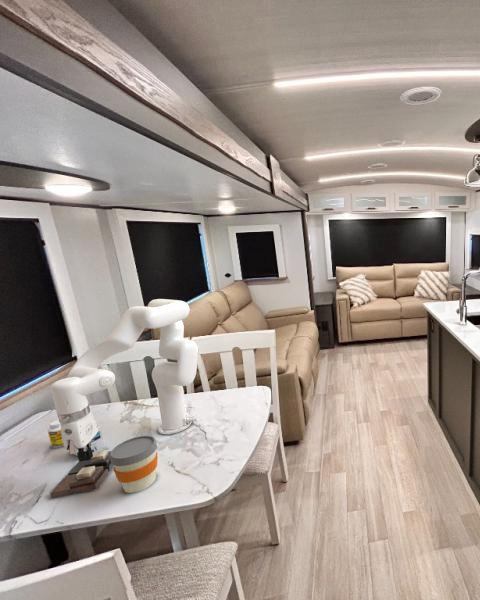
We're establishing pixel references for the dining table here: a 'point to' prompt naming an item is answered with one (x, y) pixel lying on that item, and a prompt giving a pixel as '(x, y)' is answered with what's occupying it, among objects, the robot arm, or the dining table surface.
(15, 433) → the dining table surface
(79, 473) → the key
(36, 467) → the dining table surface
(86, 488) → the key block
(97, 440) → the light bulb box
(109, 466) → the key block
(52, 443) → the supplement bottle
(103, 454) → the key
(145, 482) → the reusable coffee cup
